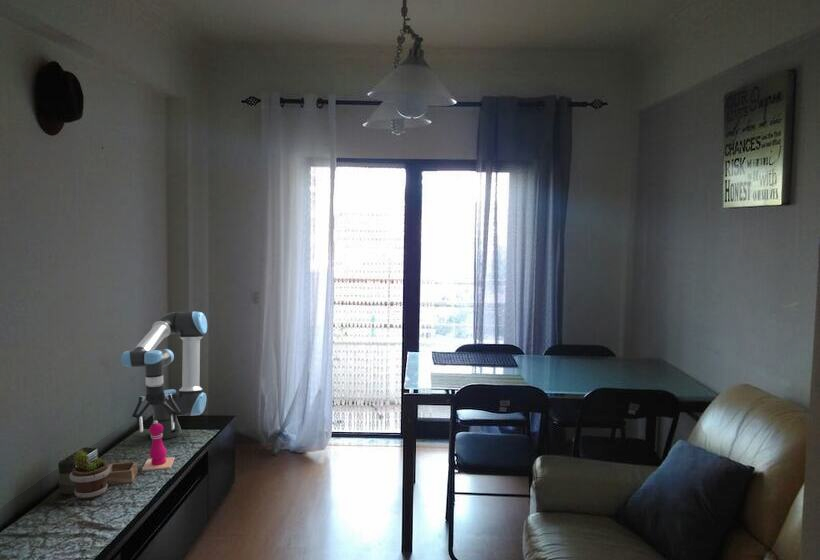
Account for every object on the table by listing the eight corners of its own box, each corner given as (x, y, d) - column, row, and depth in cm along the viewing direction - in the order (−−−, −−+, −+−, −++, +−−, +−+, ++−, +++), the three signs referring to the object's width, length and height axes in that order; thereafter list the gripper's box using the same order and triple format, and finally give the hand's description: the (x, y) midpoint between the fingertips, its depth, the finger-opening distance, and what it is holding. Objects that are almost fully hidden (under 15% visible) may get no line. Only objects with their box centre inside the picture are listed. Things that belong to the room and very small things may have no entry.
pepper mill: (163, 458, 292) (160, 416, 290) (169, 462, 287) (166, 420, 285) (147, 463, 287) (144, 420, 285) (154, 467, 282) (150, 424, 280)
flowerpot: (117, 486, 263) (115, 440, 261) (100, 502, 248) (98, 453, 246) (82, 487, 263) (79, 441, 261) (63, 503, 247) (60, 454, 246)
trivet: (147, 460, 291) (147, 459, 291) (174, 458, 294) (174, 457, 294) (142, 470, 280) (141, 469, 280) (170, 468, 282) (170, 466, 282)
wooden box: (111, 474, 276) (110, 463, 275) (137, 472, 278) (137, 461, 278) (104, 484, 265) (103, 473, 265) (132, 482, 267) (131, 470, 267)
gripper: (123, 388, 277) (126, 435, 280) (182, 385, 282) (184, 430, 285) (127, 384, 285) (130, 429, 287) (184, 380, 290) (187, 425, 292)
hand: (157, 430), depth 286 cm, fingers open, 13 cm apart
